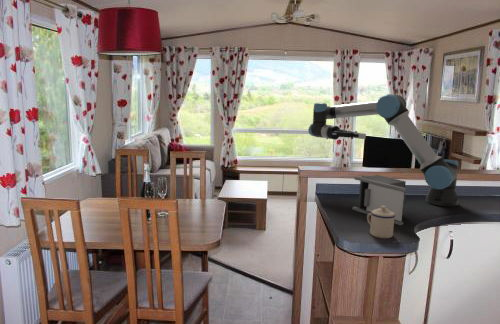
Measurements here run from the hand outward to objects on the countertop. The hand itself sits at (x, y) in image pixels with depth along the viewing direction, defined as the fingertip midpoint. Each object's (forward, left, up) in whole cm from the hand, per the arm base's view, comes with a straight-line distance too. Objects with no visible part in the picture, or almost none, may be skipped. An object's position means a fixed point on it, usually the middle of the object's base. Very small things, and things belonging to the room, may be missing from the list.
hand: (364, 136), depth 201 cm
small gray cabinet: (-4, +23, -34) cm, 41 cm away
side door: (0, +29, -33) cm, 44 cm away
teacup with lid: (+9, +48, -34) cm, 60 cm away
